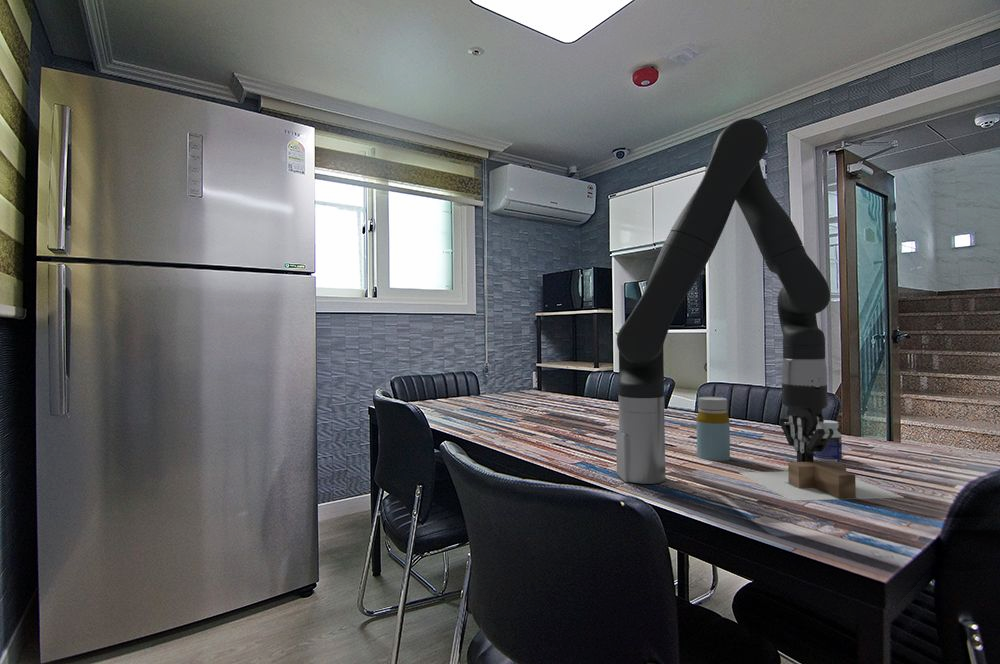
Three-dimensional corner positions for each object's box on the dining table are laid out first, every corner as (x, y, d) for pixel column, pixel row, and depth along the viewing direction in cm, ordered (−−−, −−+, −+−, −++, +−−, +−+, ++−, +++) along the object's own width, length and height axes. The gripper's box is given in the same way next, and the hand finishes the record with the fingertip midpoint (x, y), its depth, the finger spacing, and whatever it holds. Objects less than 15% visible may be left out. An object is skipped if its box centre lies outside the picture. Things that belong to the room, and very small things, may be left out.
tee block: (821, 499, 84) (821, 475, 84) (788, 483, 93) (788, 462, 93) (872, 497, 85) (872, 474, 85) (834, 482, 94) (834, 461, 94)
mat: (791, 509, 84) (791, 500, 84) (738, 479, 101) (738, 472, 101) (904, 506, 85) (904, 497, 85) (833, 477, 102) (833, 470, 102)
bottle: (730, 461, 116) (729, 397, 116) (730, 468, 109) (729, 400, 109) (698, 458, 118) (697, 395, 119) (696, 465, 112) (695, 399, 112)
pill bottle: (847, 469, 107) (846, 423, 108) (818, 468, 109) (817, 423, 109) (834, 462, 113) (834, 419, 113) (807, 461, 114) (806, 418, 114)
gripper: (765, 379, 102) (766, 463, 102) (808, 386, 89) (809, 482, 89) (800, 378, 102) (801, 462, 102) (848, 385, 89) (849, 481, 89)
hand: (805, 471), depth 95 cm, fingers closed
